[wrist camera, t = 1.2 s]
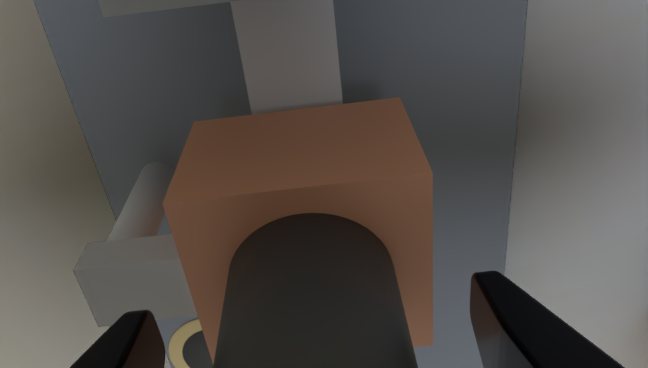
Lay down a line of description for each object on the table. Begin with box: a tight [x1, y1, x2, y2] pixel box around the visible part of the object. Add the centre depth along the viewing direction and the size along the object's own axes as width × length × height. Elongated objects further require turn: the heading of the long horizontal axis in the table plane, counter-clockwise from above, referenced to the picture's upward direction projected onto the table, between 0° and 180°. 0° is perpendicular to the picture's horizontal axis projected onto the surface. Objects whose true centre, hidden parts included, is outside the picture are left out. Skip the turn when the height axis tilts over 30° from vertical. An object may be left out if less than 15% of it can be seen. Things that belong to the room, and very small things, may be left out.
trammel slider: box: [73, 97, 433, 368], centre depth 10 cm, size 6×4×9 cm, turn 96°
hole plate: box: [34, 0, 528, 368], centre depth 14 cm, size 11×30×6 cm, turn 6°
